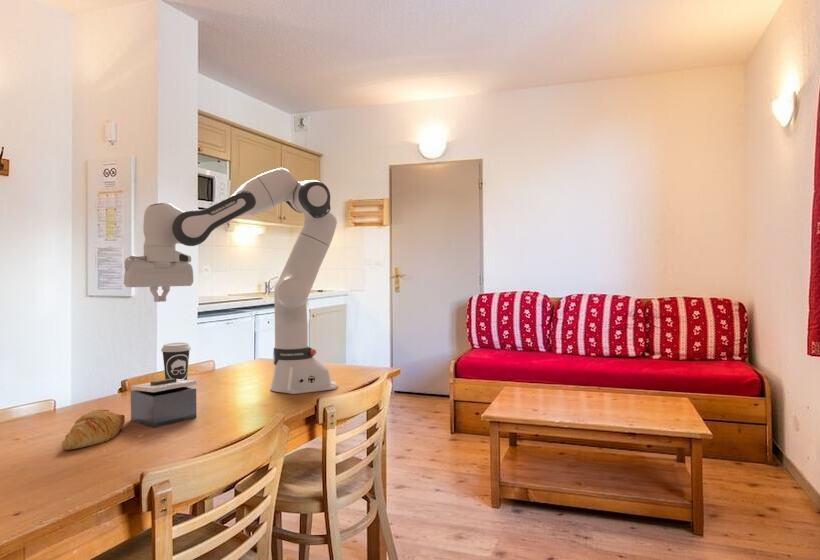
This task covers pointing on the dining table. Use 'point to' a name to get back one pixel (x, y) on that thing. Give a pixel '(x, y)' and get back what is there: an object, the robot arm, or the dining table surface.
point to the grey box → (163, 406)
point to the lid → (163, 385)
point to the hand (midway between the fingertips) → (160, 301)
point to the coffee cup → (176, 360)
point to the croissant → (93, 429)
